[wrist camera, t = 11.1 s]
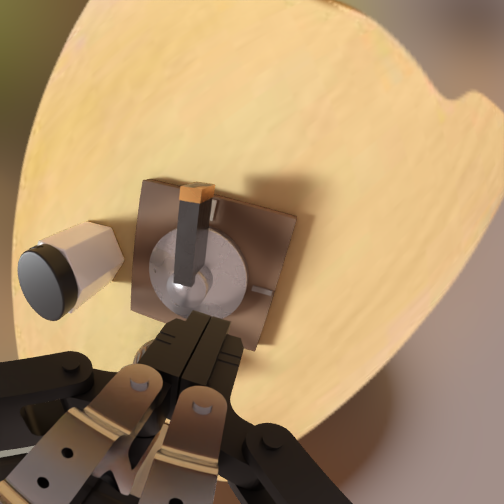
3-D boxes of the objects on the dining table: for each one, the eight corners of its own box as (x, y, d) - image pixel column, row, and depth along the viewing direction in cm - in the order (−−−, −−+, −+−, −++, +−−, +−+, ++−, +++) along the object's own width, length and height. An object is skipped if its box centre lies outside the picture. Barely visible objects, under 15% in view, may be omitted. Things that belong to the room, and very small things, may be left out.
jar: (92, 206, 33) (25, 231, 22) (134, 248, 34) (73, 288, 23) (69, 253, 36) (12, 286, 25) (106, 291, 37) (54, 336, 25)
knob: (240, 324, 33) (231, 353, 28) (154, 303, 34) (133, 326, 29) (263, 190, 28) (256, 198, 23) (160, 174, 29) (134, 179, 23)
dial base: (256, 344, 36) (254, 352, 34) (135, 304, 36) (129, 310, 35) (296, 216, 30) (296, 219, 28) (149, 179, 31) (141, 180, 29)
